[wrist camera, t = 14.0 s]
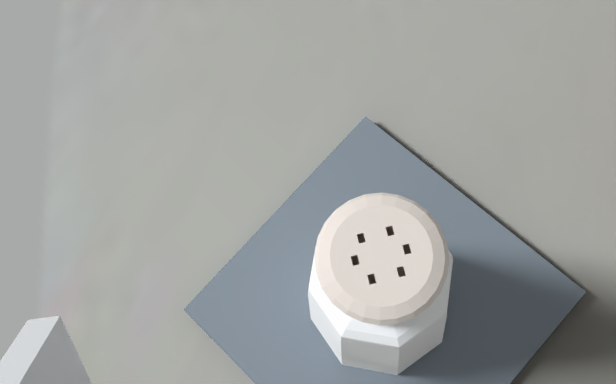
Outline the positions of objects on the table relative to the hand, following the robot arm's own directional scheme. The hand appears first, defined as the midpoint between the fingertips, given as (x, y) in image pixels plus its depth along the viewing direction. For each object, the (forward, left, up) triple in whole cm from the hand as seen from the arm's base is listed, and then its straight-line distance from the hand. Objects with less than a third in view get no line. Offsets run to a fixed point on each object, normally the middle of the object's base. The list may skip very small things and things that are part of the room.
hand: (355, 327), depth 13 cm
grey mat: (-1, -1, -10) cm, 10 cm away
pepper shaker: (-1, 0, -10) cm, 10 cm away
